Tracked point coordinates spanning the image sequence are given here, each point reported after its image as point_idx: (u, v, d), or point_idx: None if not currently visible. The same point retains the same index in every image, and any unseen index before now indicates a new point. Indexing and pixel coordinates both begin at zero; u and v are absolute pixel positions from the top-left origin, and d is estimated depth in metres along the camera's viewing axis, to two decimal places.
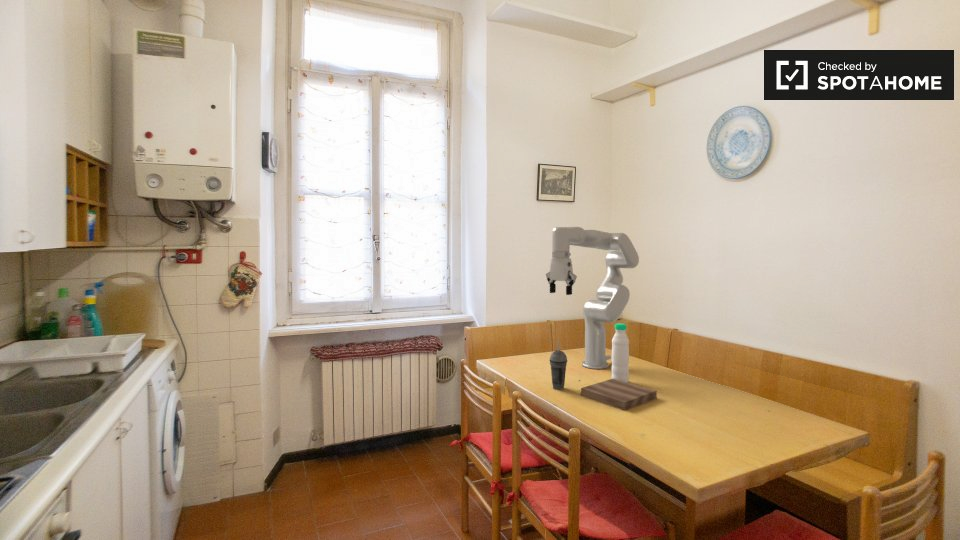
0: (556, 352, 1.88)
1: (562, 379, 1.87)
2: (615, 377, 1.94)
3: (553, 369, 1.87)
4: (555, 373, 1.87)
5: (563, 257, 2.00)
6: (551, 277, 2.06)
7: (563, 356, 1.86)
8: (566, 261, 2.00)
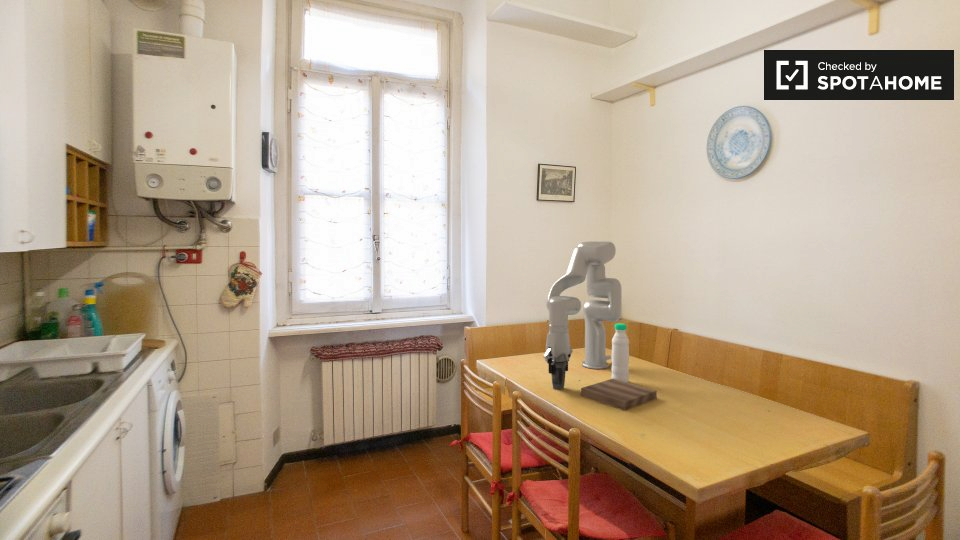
0: None
1: (562, 379, 1.87)
2: (615, 377, 1.94)
3: None
4: (555, 373, 1.87)
5: None
6: (555, 355, 1.85)
7: (563, 356, 1.86)
8: None
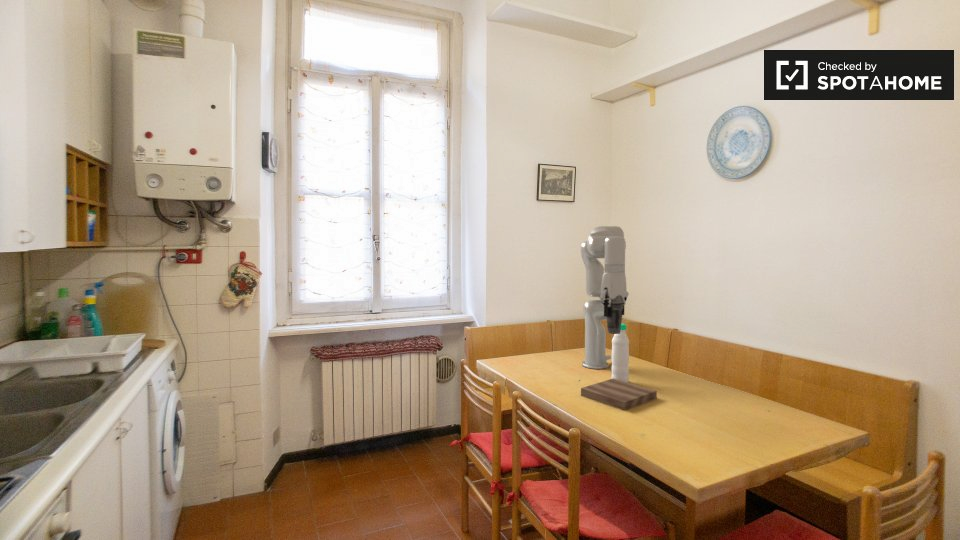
0: None
1: (619, 322, 1.75)
2: (615, 377, 1.94)
3: None
4: None
5: None
6: (612, 296, 1.73)
7: (620, 298, 1.74)
8: None
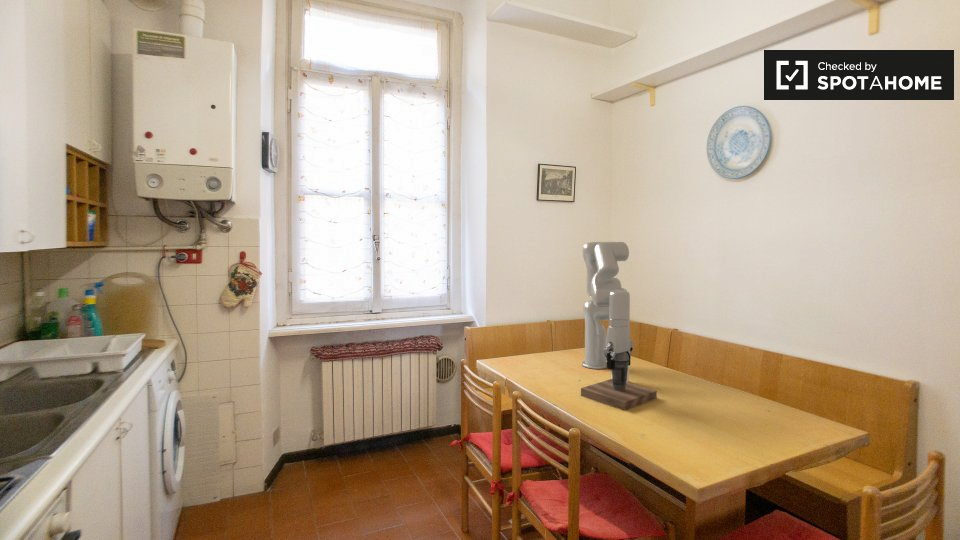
0: None
1: (624, 379, 1.76)
2: None
3: (615, 369, 1.76)
4: (617, 373, 1.76)
5: None
6: (617, 351, 1.73)
7: (626, 355, 1.75)
8: None
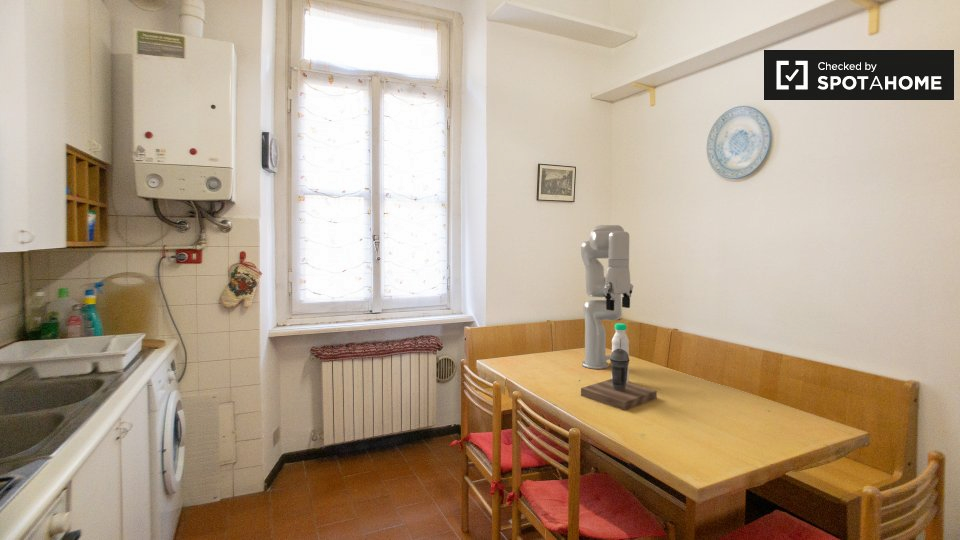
0: (618, 351, 1.76)
1: (624, 379, 1.76)
2: None
3: (615, 369, 1.76)
4: (617, 373, 1.76)
5: None
6: (617, 291, 1.72)
7: (626, 355, 1.75)
8: None
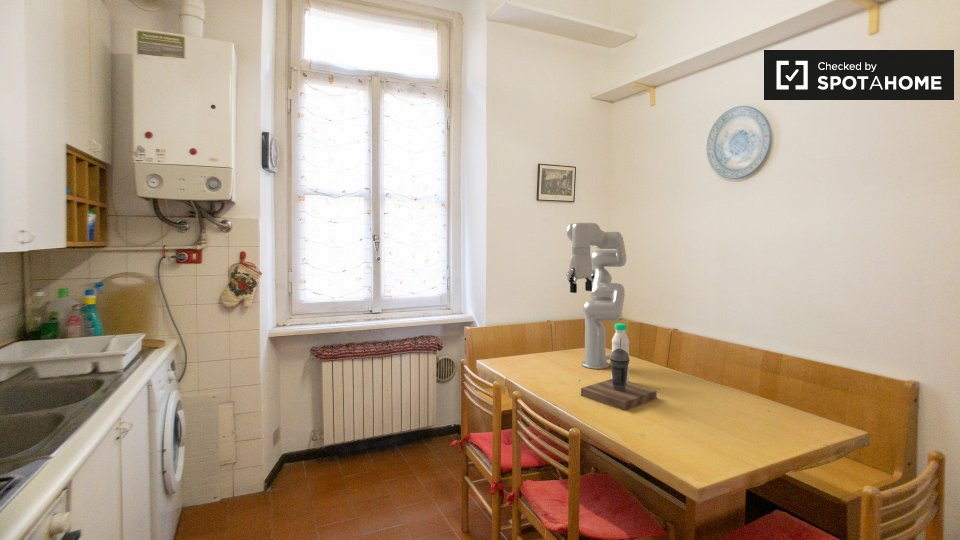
0: (618, 351, 1.76)
1: (624, 379, 1.76)
2: None
3: (615, 369, 1.76)
4: (617, 373, 1.76)
5: None
6: (579, 276, 1.94)
7: (626, 355, 1.75)
8: None
